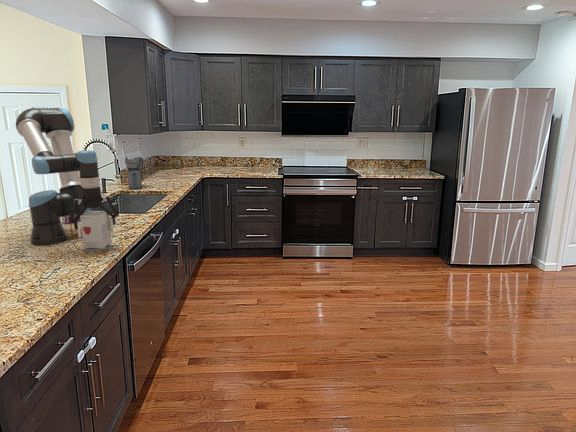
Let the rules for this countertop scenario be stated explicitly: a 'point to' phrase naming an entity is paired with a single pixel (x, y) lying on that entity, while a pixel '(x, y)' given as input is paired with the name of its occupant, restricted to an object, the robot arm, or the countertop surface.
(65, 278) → the countertop surface
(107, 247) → the slate coaster
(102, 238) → the supplement box
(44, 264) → the countertop surface
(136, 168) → the gray tapered canister
